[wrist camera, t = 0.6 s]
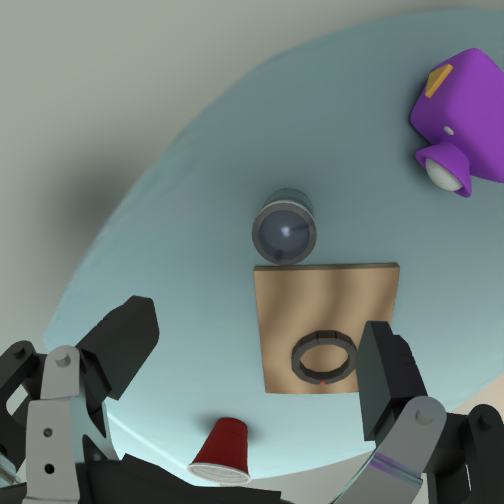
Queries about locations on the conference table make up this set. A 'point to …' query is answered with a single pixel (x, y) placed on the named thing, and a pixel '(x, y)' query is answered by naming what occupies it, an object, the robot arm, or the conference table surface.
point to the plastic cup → (223, 454)
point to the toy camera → (462, 122)
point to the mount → (319, 322)
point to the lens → (285, 228)
